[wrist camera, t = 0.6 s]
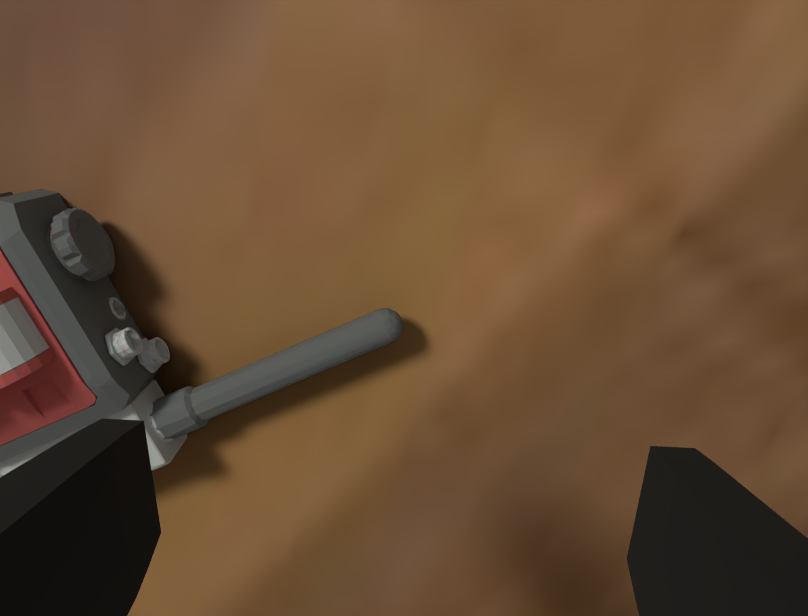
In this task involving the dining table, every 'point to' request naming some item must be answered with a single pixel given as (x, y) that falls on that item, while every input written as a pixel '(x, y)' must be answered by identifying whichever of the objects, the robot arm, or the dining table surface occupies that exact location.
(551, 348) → the dining table surface
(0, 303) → the walkie-talkie
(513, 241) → the dining table surface
